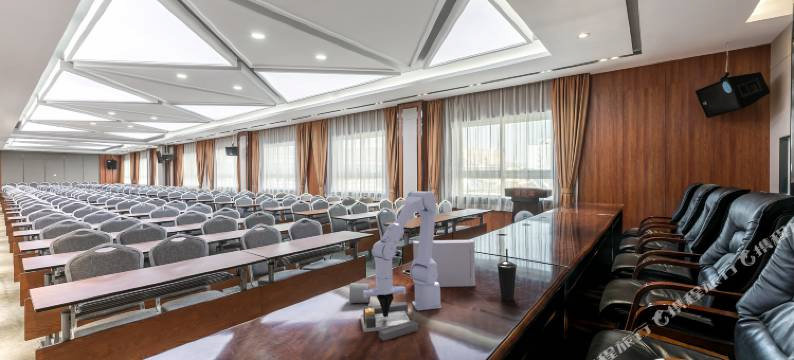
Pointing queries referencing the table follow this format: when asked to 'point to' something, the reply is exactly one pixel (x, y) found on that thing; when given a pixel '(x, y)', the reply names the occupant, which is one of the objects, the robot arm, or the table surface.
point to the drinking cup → (507, 278)
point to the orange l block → (369, 312)
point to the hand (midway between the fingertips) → (385, 315)
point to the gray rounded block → (358, 293)
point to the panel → (382, 320)
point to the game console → (453, 261)
